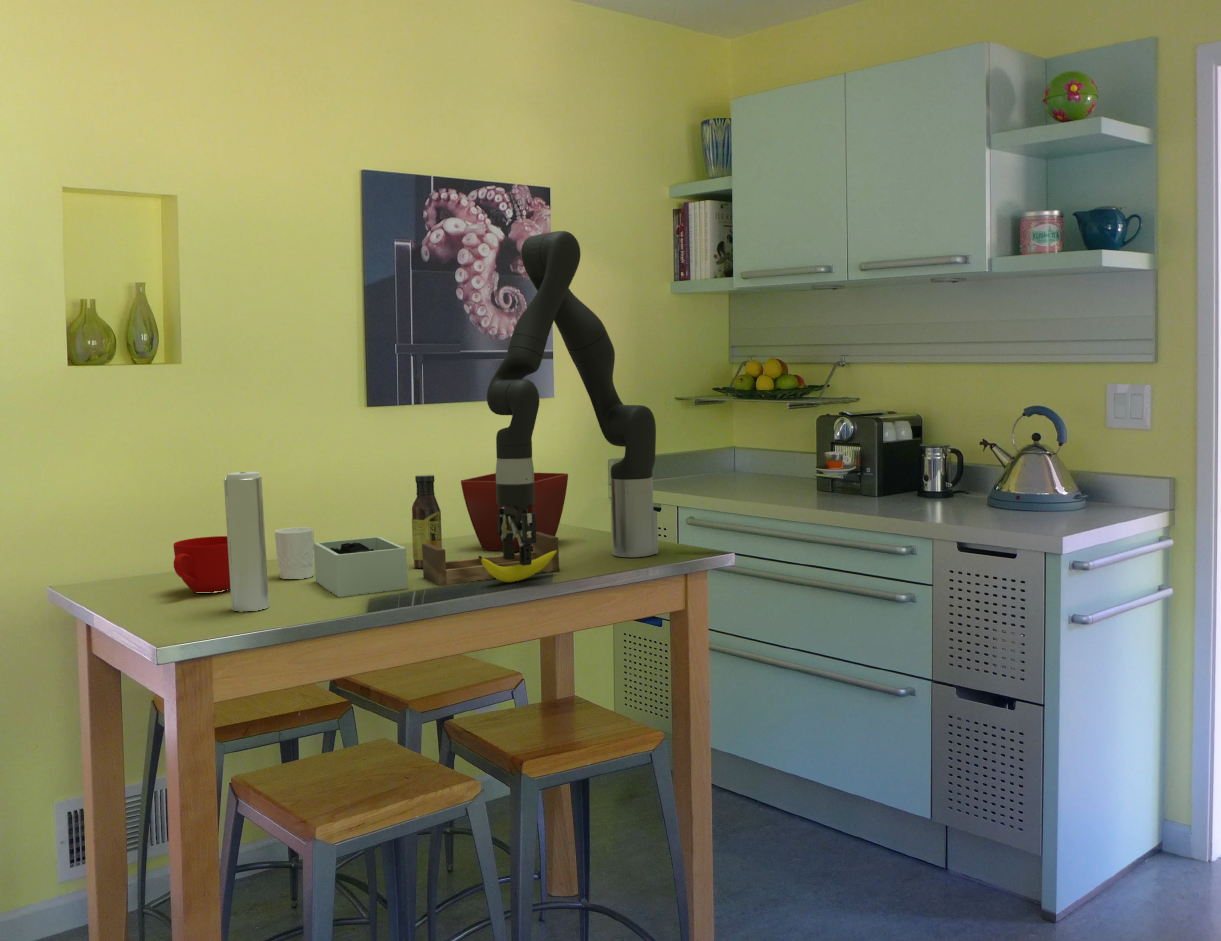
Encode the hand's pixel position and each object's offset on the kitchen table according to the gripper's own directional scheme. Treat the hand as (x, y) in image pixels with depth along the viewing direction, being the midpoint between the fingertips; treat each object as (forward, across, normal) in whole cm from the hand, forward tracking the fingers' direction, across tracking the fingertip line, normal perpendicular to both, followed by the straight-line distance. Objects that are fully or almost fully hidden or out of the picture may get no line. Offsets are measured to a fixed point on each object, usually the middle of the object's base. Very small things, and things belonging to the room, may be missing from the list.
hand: (517, 562), depth 223 cm
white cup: (+4, +32, +37) cm, 49 cm away
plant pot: (+4, +39, -16) cm, 43 cm away
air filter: (+5, +5, +50) cm, 51 cm away
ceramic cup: (+5, +26, +56) cm, 62 cm away
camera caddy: (+4, +15, +28) cm, 32 cm away
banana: (+4, 0, 0) cm, 4 cm away
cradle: (+4, +10, +2) cm, 11 cm away
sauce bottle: (+4, +27, +10) cm, 29 cm away
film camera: (+4, +14, +27) cm, 31 cm away
